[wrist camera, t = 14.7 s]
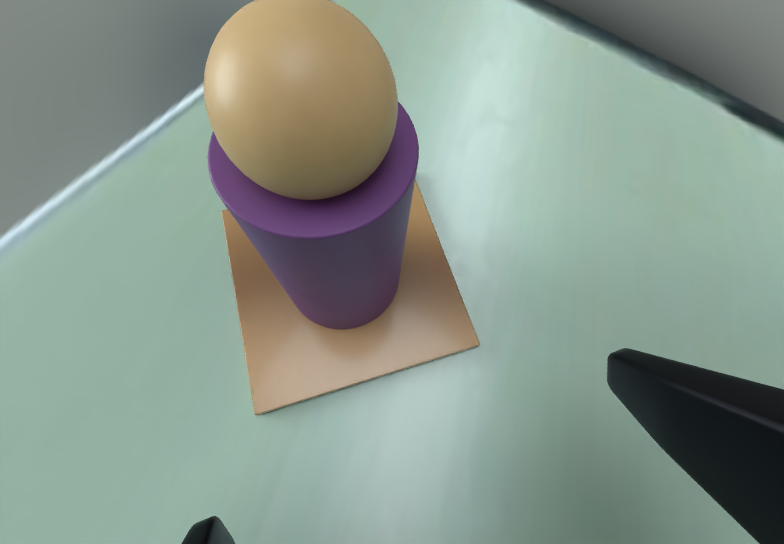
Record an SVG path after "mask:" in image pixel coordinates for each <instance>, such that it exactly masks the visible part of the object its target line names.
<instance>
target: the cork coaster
mask: <svg viewBox="0 0 784 544" xmlns="http://www.w3.org/2000/svg"><path fill="white" fill-rule="evenodd" d="M222 218H223V224H224V230H225V236H226V242H227V248H228V254H229V260H230V266H231V272H232V279H233V285H234V291H235V297H236V303H237V309H238V315H239V321H240V327H241V333H242V339H243V345H244V351H245V357H246V363H247V369H248V376H249V382H250V388H251V394H252V400H253V406H254V412H255V415H260V414H264V413H267V412H270V411H273V410H276V409H279V408H283V407H286V406H289V405H292V404H295V403H299V402H302V401H305V400H308V399H311V398H315V397H318V396H321V395H324V394H327V393H330V392H334V391H337V390H340V389H343V388H346V387H350V386H353V385H356V384H359V383H362V382H366V381H369V380H372V379H375V378H378V377H381V376H385V375H388V374H391V373H394V372H397V371H401V370H404V369H407V368H410V367H413V366H417V365H420V364H423V363H426V362H429V361H432V360H436V359H439V358H442V357H445V356H448V355H452V354H455V353H458V352H461V351H464V350H468V349H471V348H474V347H477V346H479V345H480V343H479V341H478V338H477V336H476V333H475V331H474V328H473V325H472V323H471V320H470V318H469V315H468V313H467V310H466V308H465V305H464V302H463V300H462V297H461V295H460V292H459V290H458V287H457V285H456V282H455V280H454V277H453V274H452V272H451V269H450V267H449V264H448V262H447V259H446V257H445V254H444V251H443V249H442V246H441V244H440V241H439V239H438V236H437V234H436V231H435V229H434V226H433V223H432V221H431V218H430V216H429V213H428V211H427V208H426V206H425V203H424V201H423V198H422V195H421V193H420V190H419V188H418V185H417V183H416V180H415V183H414V189H413V196H412V202H411V208H410V214H409V221H408V227H407V233H406V239H405V245H404V252H403V258H402V264H401V270H400V277H399V283H398V288H397V291H396V294H395V296H394V299H393V301H392V302H391V304H390V305H389V307H388V308H387V309H386V310H385V311H384V312H383V313H382V314H381V315H380V316H379V317H377V318H376V319H375V320H373V321H371V322H369V323H367V324H365V325H363V326H360V327H356V328H352V329H332V328H327V327H324V326H321V325H318V324H316V323H314V322H312V321H311V320H309V319H308V318H307V317H305V316H304V315H303V314H302V313H301V312H300V311H299V309H298V308H297V307H296V305H295V304H294V303H293V301H292V300H291V298H290V297H289V295H288V294H287V293H286V291H285V290H284V288H283V287H282V286H281V284H280V283H279V281H278V280H277V278H276V277H275V276H274V274H273V273H272V271H271V270H270V268H269V267H268V266H267V264H266V263H265V261H264V260H263V258H262V257H261V256H260V254H259V253H258V251H257V250H256V249H255V247H254V246H253V244H252V243H251V241H250V240H249V239H248V237H247V236H246V234H245V233H244V231H243V230H242V229H241V227H240V226H239V224H238V223H237V221H236V220H235V219H234V217H233V216H232V214H231V213H230V212H229V210H223V211H222Z"/></svg>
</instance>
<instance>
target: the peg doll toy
mask: <svg viewBox="0 0 784 544" xmlns="http://www.w3.org/2000/svg"><path fill="white" fill-rule="evenodd" d="M204 96H205V106H206V110H207V114H208V117H209V121H210V125H211V127H212V129H213V133H212V136H211V140H210V144H209V150H208V167H209V173H210V177H211V181H212V183H213V186H214V188H215V190H216V192H217V194H218V195H219V197H220V198H221V200H222V202H223V203H224V204H225V206H226V207H227V209H228V210H229V212H230V213H231V214H232V216H233V217H234V219H235V220H236V221H237V223H238V224H239V226H240V227H241V229H242V230H243V231H244V233H245V234H246V236H247V237H248V239H249V240H250V241H251V243H252V244H253V246H254V247H255V249H256V250H257V251H258V253H259V254H260V256H261V257H262V258H263V260H264V261H265V263H266V264H267V266H268V267H269V268H270V270H271V271H272V273H273V274H274V276H275V277H276V278H277V280H278V281H279V283H280V284H281V286H282V287H283V288H284V290H285V291H286V293H287V294H288V295H289V297H290V298H291V300H292V301H293V303H294V304H295V305H296V307H297V308H298V309H299V311H300V312H301V313H302V314H303V315H304V316H305V317H307V318H308V319H309V320H311V321H312V322H314V323H316V324H318V325H321V326H324V327H327V328H332V329H352V328H356V327H360V326H363V325H365V324H367V323H369V322H371V321H373V320H375V319H376V318H377V317H379V316H380V315H381V314H382V313H383V312H384V311H385V310H386V309H387V308H388V307H389V305H390V304H391V302H392V301H393V299H394V296H395V294H396V291H397V288H398V283H399V277H400V270H401V264H402V258H403V252H404V245H405V239H406V233H407V227H408V221H409V214H410V208H411V202H412V196H413V189H414V183H415V177H416V171H417V164H418V158H419V145H418V139H417V134H416V131H415V128H414V125H413V123H412V121H411V119H410V117H409V115H408V114H407V112H406V111H405V109H404V108H403V107H402V105H401V104H400V103H399V102H398V97H397V90H396V84H395V79H394V75H393V72H392V69H391V66H390V64H389V61H388V59H387V57H386V55H385V53H384V51H383V49H382V47H381V46H380V44H379V42H378V41H377V39H376V38H375V37H374V35H373V34H372V33H371V32H370V30H369V29H368V28H367V27H366V26H365V25H364V24H363V23H362V22H361V21H360V20H359V19H358V18H357V17H355V16H354V15H353V14H352V13H350V12H349V11H348V10H346V9H344V8H343V7H341V6H339V5H338V4H336V3H334V2H332V1H330V0H255V1H253V2H252V3H249V4H248V5H246V6H244V7H243V8H241V9H240V10H239V11H237V12H236V13H235V14H234V15H233V16H232V17H231V18H230V19H229V20H228V21H227V22H226V24H225V25H224V26H223V28H222V29H221V30H220V31H219V33H218V35H217V37H216V39H215V41H214V43H213V45H212V47H211V49H210V53H209V56H208V60H207V63H206V67H205V77H204Z"/></svg>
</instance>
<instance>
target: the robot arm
mask: <svg viewBox="0 0 784 544" xmlns="http://www.w3.org/2000/svg"><path fill="white" fill-rule="evenodd" d="M607 382H608V385H609V387H610V389H611V390H612V392H613V393H614V394H615V395H616V396H617V397H618V399H619V400H620V401H621V402H622V403H623V404H624V405H625V407H626V408H627V409H628V410H629V411H630V412H631V414H632V415H633V416H634V417H635V418H636V419H637V421H638V422H639V423H640V424H641V425H642V426H643V427H644V429H645V430H646V431H647V432H648V433H649V434H650V436H651V437H652V438H653V439H654V440H655V441H656V442H657V443H658V444H659V446H660V447H661V448H662V449H663V450H664V451H665V452H666V453H667V454H668V455H669V456H670V457H671V458H672V459H673V460H674V461H675V462H676V463H677V464H678V465H679V466H680V467H681V468H682V469H684V470H685V471H686V472H687V473H688V474H689V475H690V476H691V477H692V478H693V479H694V480H695V481H696V482H697V483H698V484H699V485H700V486H701V487H702V488H703V489H704V490H705V491H706V492H707V493H708V494H709V495H710V496H711V497H712V498H713V499H714V500H715V501H716V502H717V503H718V504H719V505H720V506H721V507H723V508H724V509H725V510H726V511H727V512H728V513H729V514H730V515H731V516H732V517H733V518H734V519H735V520H736V521H737V522H738V523H739V524H740V525H741V526H742V527H743V528H744V529H745V530H746V531H747V532H748V533H749V534H750V535H751V536H752V537H753V538H754V539H755V540H756V541H757V542H758V543H759V544H784V390H783V389H779V388H775V387H772V386H768V385H764V384H760V383H757V382H753V381H749V380H745V379H742V378H738V377H734V376H730V375H726V374H723V373H719V372H715V371H711V370H708V369H704V368H700V367H696V366H693V365H689V364H685V363H681V362H678V361H674V360H670V359H666V358H662V357H659V356H655V355H651V354H647V353H644V352H640V351H636V350H632V349H628V348H624V349H620V350H618V351H616V352H613V353H611V354H610V355H609V356H608V367H607ZM182 544H235V542H234V540H233V538H232V536H231V535H230V533H229V532H228V530H227V529H226V527H225V526H224V524H223V523H222V522H221V520H220V519H219V518H218V517H216V516H212V517H210V518H207V519H205V520H202V521H200V522H198V523H196V524H194V525H193V526H192V528H191V529H190V530H189V532H188V534H187V535H186V537H185V539H184V540H183V542H182Z"/></svg>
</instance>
